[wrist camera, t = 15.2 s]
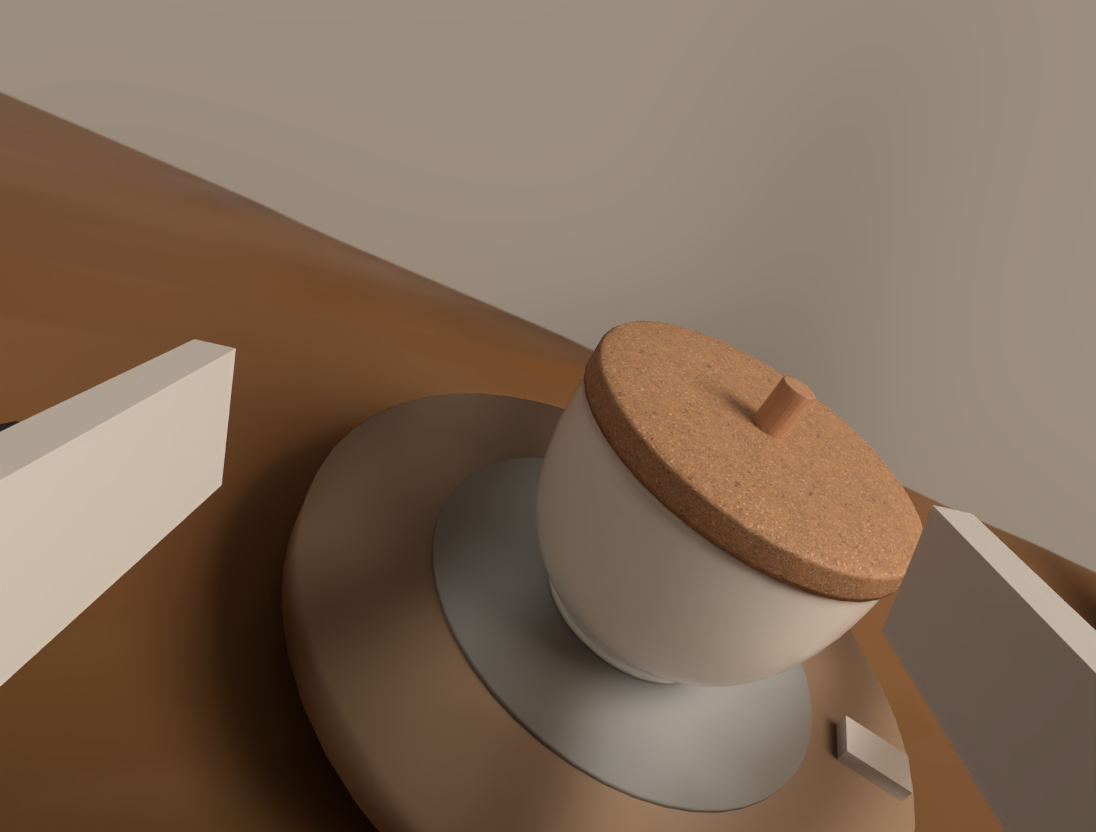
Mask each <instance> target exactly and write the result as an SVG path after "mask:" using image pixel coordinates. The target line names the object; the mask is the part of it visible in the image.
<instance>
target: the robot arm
mask: <svg viewBox="0 0 1096 832" xmlns="http://www.w3.org/2000/svg"><path fill="white" fill-rule="evenodd" d="M235 351H236V349H235V348H231V347H227V346H222V345H218V344H213V343H209V342H204V341H200V340H195V339H194V340H192V341H190V342H188V343H185V344H183V345H181V346H179V347H177V348H175V349H173V350H171V351H169V352H167V353H164V354H162V355H160V356H158V357H156V358H154V359H152V360H150V361H148V362H146V363H143V364H141V365H139V366H137V367H135V368H133V369H131V370H129V371H127V372H125V373H122V374H120V375H118V376H116V377H114V378H112V379H110V380H108V381H106V382H104V383H101V384H99V385H97V386H95V387H93V388H91V389H89V390H87V391H85V392H83V393H80V394H78V395H76V396H74V397H72V398H70V399H68V400H66V401H64V402H62V403H59V404H57V405H55V406H53V407H51V408H49V409H47V410H45V411H43V412H41V413H38V414H36V415H34V416H32V417H30V418H28V419H26V420H24V421H22V422H17V421H14V422H9V423H4V424H0V686H1V685H2V684H3V683H4V682H6V681H7V680H8V679H9V678H10V677H11V676H12V675H13V674H14V673H15V672H17V671H18V670H19V669H20V668H21V667H22V666H23V665H24V664H25V663H26V662H28V661H29V660H30V659H31V658H32V657H33V656H34V655H35V654H36V653H37V652H39V651H40V650H41V649H42V648H43V647H44V646H45V645H46V644H47V643H49V642H50V641H51V640H52V639H53V638H54V637H55V636H56V635H57V634H58V633H60V632H61V631H62V630H63V629H64V628H65V627H66V626H67V625H68V624H69V623H71V622H72V621H73V620H74V619H75V618H76V617H77V616H78V615H79V614H80V613H82V612H83V611H84V610H85V609H86V608H87V607H88V606H89V605H90V604H91V603H93V602H94V601H95V600H96V599H97V598H98V597H99V596H100V595H101V594H102V593H104V592H105V591H106V590H107V589H108V588H109V587H110V586H111V585H112V584H113V583H115V582H116V581H117V580H118V579H119V578H120V577H121V576H122V575H123V574H124V573H126V572H127V571H128V570H129V569H130V568H131V567H132V566H133V565H134V564H135V563H137V562H138V561H139V560H140V559H141V558H142V557H143V556H144V555H145V554H146V553H148V552H149V551H150V550H151V549H152V548H153V547H154V546H155V545H156V544H157V543H159V542H160V541H161V540H162V539H163V538H164V537H165V536H166V535H167V534H168V533H170V532H171V531H172V530H173V529H174V528H175V527H176V526H177V525H178V524H179V523H181V522H182V521H183V520H184V519H185V518H186V517H187V516H188V515H189V514H190V513H192V512H193V511H194V510H195V509H196V508H197V507H198V506H199V505H200V504H201V503H203V502H204V501H205V500H206V499H207V498H208V497H209V496H210V495H211V494H212V493H214V492H215V491H216V490H217V489H218V488H219V487H220V486H221V485H222V476H223V467H224V457H225V447H226V438H227V428H228V419H229V409H230V399H231V390H232V380H233V371H234V361H235ZM882 632H883V633H884V635H885V637H886V638H887V640H888V641H889V643H890V645H891V646H892V648H893V650H894V651H895V653H896V655H897V656H898V658H899V659H900V661H901V663H902V664H903V666H904V668H905V669H906V671H907V673H908V674H909V676H910V677H911V679H912V681H913V682H914V684H915V686H916V687H917V689H918V691H919V692H920V694H921V695H922V697H923V699H924V700H925V702H926V704H927V705H928V707H929V709H930V710H931V712H932V713H933V715H934V717H935V718H936V720H937V722H938V723H939V725H940V727H941V728H942V730H943V731H944V733H945V735H946V736H947V738H948V740H949V741H950V743H951V745H952V746H953V748H954V749H955V751H956V753H957V754H958V756H959V758H960V759H961V761H962V763H963V764H964V766H965V767H966V769H967V771H968V772H969V774H970V776H971V777H972V779H973V781H974V782H975V784H976V786H977V787H978V789H979V790H980V792H981V794H982V795H983V797H984V799H985V800H986V802H987V804H988V805H989V807H990V808H991V810H992V812H993V813H994V815H995V817H996V818H997V820H998V822H999V823H1000V825H1001V826H1002V828H1003V830H1004V831H1005V832H1096V630H1095V629H1094V628H1093V627H1091V626H1090V625H1089V624H1088V623H1087V622H1086V621H1085V620H1084V619H1083V618H1082V617H1081V616H1080V615H1079V614H1078V613H1077V612H1076V611H1075V610H1073V609H1072V608H1071V607H1070V606H1069V605H1068V604H1067V603H1066V602H1065V601H1064V600H1063V599H1062V598H1061V597H1060V596H1059V595H1058V594H1057V593H1056V592H1054V591H1053V590H1052V589H1051V588H1050V587H1049V586H1048V585H1047V584H1046V583H1045V582H1044V581H1043V580H1042V579H1041V578H1040V577H1039V576H1038V575H1036V574H1035V573H1034V572H1033V571H1032V570H1031V569H1030V568H1029V567H1028V566H1027V565H1026V564H1025V563H1024V562H1023V561H1022V560H1021V559H1020V558H1019V557H1017V556H1016V555H1015V554H1014V553H1013V552H1012V551H1011V550H1010V549H1009V548H1008V547H1007V546H1006V545H1005V544H1004V543H1003V542H1002V541H1001V540H999V539H998V538H997V537H996V536H995V535H994V534H993V533H992V532H991V531H990V530H989V529H988V528H987V527H986V526H985V525H984V524H983V523H982V522H980V521H979V520H978V519H977V518H976V517H975V516H974V515H973V514H970V513H966V512H961V511H957V510H952V509H948V508H944V507H939V506H935V505H932V508H931V510H930V513H929V515H928V518H927V520H926V523H925V525H924V528H923V530H922V533H921V535H920V538H919V540H918V543H917V545H916V548H915V550H914V553H913V555H912V558H911V560H910V563H909V565H908V568H907V570H906V573H905V575H904V578H903V580H902V583H901V585H900V588H899V590H898V593H897V595H896V598H895V600H894V603H893V605H892V608H891V610H890V613H889V615H888V618H887V620H886V623H885V625H884V628H883V630H882Z"/></svg>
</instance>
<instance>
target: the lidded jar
mask: <svg viewBox="0 0 1096 832" xmlns="http://www.w3.org/2000/svg"><path fill="white" fill-rule="evenodd" d="M535 515H536V530H537V539H538V543H539V548H540V552H541V556H542V559H543V562H544V566H545V568H546V571H547V573H548V583H549V588H550V592H551V595H552V598H553V600H554V603H555V605H556V607H557V609H558V611H559V613H560V614H561V616H562V618H563V619H564V621H565V622H566V624H567V625H568V626H569V628H570V629H571V631H572V632H573V633H574V634H575V635H576V636H577V637H578V638H579V640H580V641H581V642H582V643H583V644H584V645H585V646H587V647H588V648H589V649H590V650H591V651H592V652H593V653H594V654H596V655H597V656H598V657H600V658H601V659H602V660H604V661H605V662H606V663H608V664H609V665H611V666H613V667H614V668H616V669H618V670H619V671H621V672H623V673H626V674H628V675H630V676H632V677H634V678H637V679H640V680H643V681H647V682H651V683H657V684H679V683H680V684H686V685H692V686H700V687H729V686H738V685H744V684H749V683H754V682H758V681H761V680H764V679H767V678H770V677H773V676H776V675H779V674H781V673H783V672H785V671H787V670H789V669H791V668H793V667H794V666H796V665H798V664H800V663H802V662H804V661H805V660H807V659H809V658H811V657H813V656H814V655H816V654H818V653H819V652H820V651H822V650H823V649H824V648H826V647H827V646H829V645H830V644H831V643H833V642H834V641H836V640H837V639H838V638H840V637H841V636H842V635H843V634H844V633H845V632H847V631H848V630H849V629H850V628H851V627H852V626H853V625H854V624H855V623H856V622H858V621H859V620H860V619H861V618H862V617H863V616H864V615H865V614H866V613H867V612H868V611H869V610H870V609H871V608H872V607H873V606H874V605H875V604H876V603H877V602H878V601H879V600H880V599H881V598H884V597H886V596H888V595H890V594H892V593H893V592H895V591H896V590H897V589H898V588H899V587H900V585H901V583H902V580H903V578H904V575H905V573H906V570H907V568H908V565H909V563H910V560H911V558H912V555H913V553H914V550H915V548H916V545H917V543H918V540H919V538H920V535H921V533H922V530H923V529H922V525H921V521H920V518H919V516H918V514H917V512H916V510H915V508H914V505H913V503H912V501H911V500H910V498H909V497H908V495H907V493H906V492H905V490H904V488H903V487H902V485H901V484H900V482H899V481H898V480H897V478H896V477H895V476H894V475H893V473H892V472H891V471H890V469H889V468H888V467H887V466H886V464H885V463H884V462H883V461H882V460H881V459H880V457H879V456H878V455H877V454H876V453H875V452H874V450H873V449H872V448H871V447H870V446H869V445H868V444H867V443H866V442H865V441H864V440H863V439H862V438H861V437H860V436H859V435H858V434H857V433H856V432H855V431H854V430H853V429H852V428H850V427H849V426H848V425H847V424H846V423H845V422H844V421H843V420H842V419H841V418H840V417H839V416H837V415H836V414H835V413H834V412H833V411H831V410H830V409H829V408H828V407H826V406H825V405H823V403H821V402H820V401H819V400H818V399H816V398H815V395H814V393H813V392H812V391H811V389H810V388H808V387H807V386H806V385H805V384H804V383H802V382H801V381H799V380H798V379H796V378H794V377H791V376H784V375H782V374H781V373H779V372H778V371H776V370H774V369H773V368H771V367H769V366H768V365H766V364H765V363H763V362H761V361H760V360H758V359H756V358H754V357H752V356H750V355H748V354H746V353H744V352H743V351H741V350H739V349H737V348H734V347H732V346H730V345H728V344H726V343H724V342H722V341H720V340H718V339H715V338H712V337H710V336H707V335H704V334H701V333H698V332H696V331H693V330H690V329H686V328H683V327H680V326H677V325H671V324H666V323H661V322H651V321H636V322H629V323H626V324H622V325H619V326H617V327H614V328H612V329H611V330H610V331H608V332H607V333H606V334H605V335H604V336H603V337H602V339H601V340H600V342H599V344H598V345H597V347H596V349H595V351H594V352H593V354H592V356H591V358H590V359H589V361H588V363H587V365H586V368H585V375H584V376H583V378H582V380H581V381H580V383H579V385H578V386H577V388H576V390H575V391H574V393H573V395H572V397H571V399H570V400H569V402H568V404H567V406H566V408H565V410H564V411H563V413H562V415H561V417H560V419H559V421H558V423H557V425H556V428H555V430H554V432H553V435H552V437H551V439H550V442H549V444H548V447H547V450H546V453H545V457H544V460H543V464H542V467H541V470H540V475H539V480H538V485H537V494H536V503H535Z"/></svg>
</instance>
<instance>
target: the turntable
mask: <svg viewBox="0 0 1096 832" xmlns="http://www.w3.org/2000/svg"><path fill="white" fill-rule="evenodd" d="M564 410H565V409H562V408H558V407H555V406H551V405H547V404H544V403H540V402H536V401H531V400H525V399H520V398H515V397H509V396H499V395H489V394H447V395H439V396H431V397H424V398H421V399H417V400H413V401H409V402H405V403H402V404H398V405H396V406H394V407H391V408H389V409H387V410H385V411H382V412H380V413H378V414H375V415H374V416H372V417H371V418H369V419H368V420H366V421H365V422H363V423H362V424H360V425H359V426H357V427H356V428H354V429H353V430H351V431H350V432H349V433H348V434H347V435H346V436H345V437H344V438H343V439H342V440H341V441H340V442H339V443H338V444H337V445H336V446H335V447H334V448H333V449H332V451H331V452H330V454H329V455H328V457H327V458H326V460H325V461H324V463H323V464H322V466H321V467H320V469H319V470H318V472H317V473H316V475H315V478H314V480H313V482H312V484H311V487H310V489H309V491H308V494H307V496H306V498H305V500H304V503H303V505H302V507H301V510H300V512H299V515H298V517H297V519H296V522H295V524H294V527H293V529H292V532H291V534H290V537H289V541H288V546H287V551H286V556H285V562H284V567H283V572H282V618H283V625H284V632H285V639H286V646H287V653H288V658H289V661H290V665H291V668H292V671H293V675H294V678H295V681H296V685H297V688H298V691H299V694H300V698H301V701H302V704H303V706H304V709H305V711H306V713H307V715H308V717H309V720H310V722H311V724H312V726H313V728H314V730H315V733H316V735H317V737H318V739H319V741H320V744H321V746H322V748H323V750H324V752H325V754H326V756H327V757H328V759H329V761H330V762H331V764H332V765H333V767H334V769H335V770H336V772H337V773H338V775H339V777H340V778H341V780H342V782H343V783H344V785H345V786H346V788H347V790H348V791H349V793H350V794H351V796H352V798H353V799H354V801H355V802H356V804H357V805H358V806H359V808H360V809H361V810H362V811H363V813H364V814H365V815H366V816H367V818H368V819H369V820H370V821H371V823H372V824H373V825H374V826H375V828H376V829H377V830H378V831H379V832H914V830H915V815H914V796H913V787H912V781H911V776H910V768H909V760H908V755H907V754H906V752H905V748H904V745H903V742H902V738H901V735H900V732H899V729H898V725H897V722H896V720H895V717H894V715H893V712H892V710H891V708H890V705H889V703H888V700H887V698H886V695H885V693H884V691H883V688H882V686H881V684H880V683H879V681H878V679H877V677H876V675H875V673H874V671H873V669H872V667H871V665H870V663H869V661H868V659H867V657H866V656H865V654H864V653H863V651H862V649H861V648H860V646H859V644H858V643H857V641H856V640H855V638H854V636H853V635H852V633H851V631H850V630H848V631H847V632H845V633H844V634H843V635H842V636H841V637H840V638H838V639H837V640H836V641H834V642H833V643H831V644H830V645H829V646H827V647H826V648H824V649H823V650H822V651H820V652H819V653H818V654H816V655H814V656H813V657H811V658H809V659H807V660H805V661H804V662H802V663H800V664H798V665H796V666H794V667H793V668H791V669H789V670H787V671H785V672H783V673H781V674H779V675H776V676H773V677H770V678H767V679H764V680H761V681H758V682H754V683H749V684H744V685H738V686H729V687H700V686H692V685H686V684H680V683H679V684H657V683H651V682H647V681H643V680H640V679H637V678H634V677H632V676H630V675H628V674H626V673H623V672H621V671H619V670H618V669H616V668H614V667H613V666H611V665H609V664H608V663H606V662H605V661H604V660H602V659H601V658H600V657H598V656H597V655H596V654H594V653H593V652H592V651H591V650H590V649H589V648H588V647H587V646H585V645H584V644H583V643H582V642H581V641H580V640H579V638H578V637H577V636H576V635H575V634H574V633H573V632H572V631H571V629H570V628H569V626H568V625H567V624H566V622H565V621H564V619H563V618H562V616H561V614H560V613H559V611H558V609H557V607H556V605H555V603H554V600H553V598H552V595H551V592H550V588H549V583H548V573H547V571H546V568H545V566H544V562H543V559H542V556H541V552H540V548H539V543H538V539H537V530H536V515H535V503H536V494H537V485H538V480H539V475H540V470H541V467H542V464H543V460H544V457H545V453H546V450H547V447H548V444H549V442H550V439H551V437H552V435H553V432H554V430H555V428H556V425H557V423H558V421H559V419H560V417H561V415H562V413H563V411H564Z"/></svg>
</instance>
